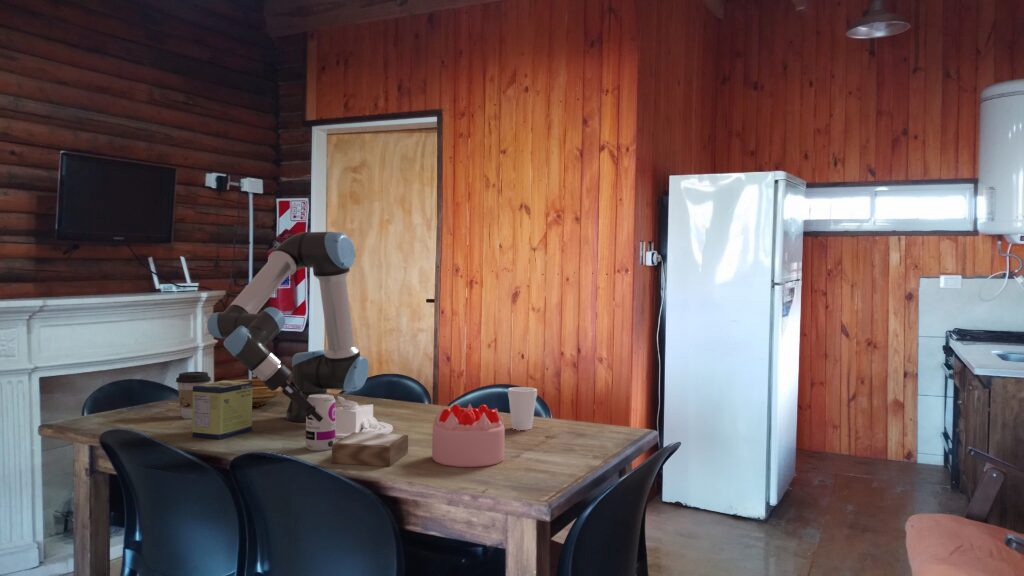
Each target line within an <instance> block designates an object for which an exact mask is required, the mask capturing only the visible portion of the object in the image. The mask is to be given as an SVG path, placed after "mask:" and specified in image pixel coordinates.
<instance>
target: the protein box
mask: <svg viewBox="0 0 1024 576" xmlns="http://www.w3.org/2000/svg"><path fill="white" fill-rule="evenodd" d="M252 383H253V382H243V381H233V380H230V379H228V380H227V379H225V380H224V379H223V380H220V381H215V382H209V383H208V384H202V385H196V386H193V419H192V420H191V421H192V427H191V429H192V433H191V434H192V435H191V436H192V437H193V438H201V439H210V440H211V439H212V440H223V439H226V438H229V437H234V436H237V435H240V434H245V433H248V432H252V431H253V407H252Z"/></svg>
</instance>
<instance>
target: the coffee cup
mask: <svg viewBox="0 0 1024 576" xmlns="http://www.w3.org/2000/svg"><path fill="white" fill-rule="evenodd" d="M175 379H176V380H175V383H177V391H178V398H179V405H180V406H179V407H180V415H181V418H182V419H186V420H191V419H192V420H193V386H196V385H202V384H208V383H211V381H212V379H211V376H209V372H207V371H185V372H179V373H178V377H176V378H175Z"/></svg>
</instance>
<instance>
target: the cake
mask: <svg viewBox="0 0 1024 576" xmlns="http://www.w3.org/2000/svg"><path fill="white" fill-rule="evenodd" d="M504 420H505V419H504V417H503V416H502V415H501V414H500V413H499V411H498V408H497V407H496V408H494V409H493V408H490V409H489V408H488V405H486V404H481V405H479V407H478V408H476V407H475V408H473V406H472V405H471V403H469V404H468V406H467V408H466V407H465V408H464V407H462V408H461V406H460V404H457V403H456V404H452V406H451V407H450V409H449V408H445V407H444V406H442V407H441V411H440V412H439V413H438V414H436V416H435V418H434V422H435V423H434V424H433V425H432V441H431V443H432V447H431V448H432V450H431V452H432V453H431V455H432V456H431V457H432V460H433V461H434V462H435V463H437V464H439V465H444V466H449V467H458V468H479V467H488V466H493V465H496V464H500V463H502V462H503V460H504V458H505V430H506V429H505V426H504Z"/></svg>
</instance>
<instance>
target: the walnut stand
mask: <svg viewBox="0 0 1024 576" xmlns="http://www.w3.org/2000/svg"><path fill="white" fill-rule="evenodd" d="M408 453H409V435H408V434H394V433H389V434H379V433H359V432H354V433H352V434H350V435H348V436H346V437H344V438H343V439H339V440H337V441H335V443H333V444H332V449H331V464H340V465H342V464H343V465H355V466H357V465H361V466H373V467H374V466H376V467H378V466H379V467H391V466H393V465H394V464H395V463H396V462H398V461H400V460H401V459H402V458H403V457H405V456H406V455H407V454H408Z"/></svg>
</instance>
